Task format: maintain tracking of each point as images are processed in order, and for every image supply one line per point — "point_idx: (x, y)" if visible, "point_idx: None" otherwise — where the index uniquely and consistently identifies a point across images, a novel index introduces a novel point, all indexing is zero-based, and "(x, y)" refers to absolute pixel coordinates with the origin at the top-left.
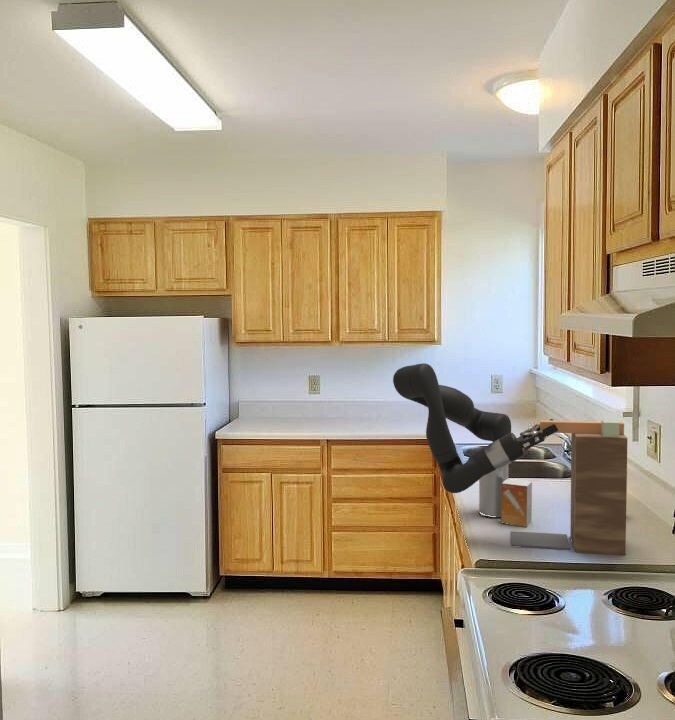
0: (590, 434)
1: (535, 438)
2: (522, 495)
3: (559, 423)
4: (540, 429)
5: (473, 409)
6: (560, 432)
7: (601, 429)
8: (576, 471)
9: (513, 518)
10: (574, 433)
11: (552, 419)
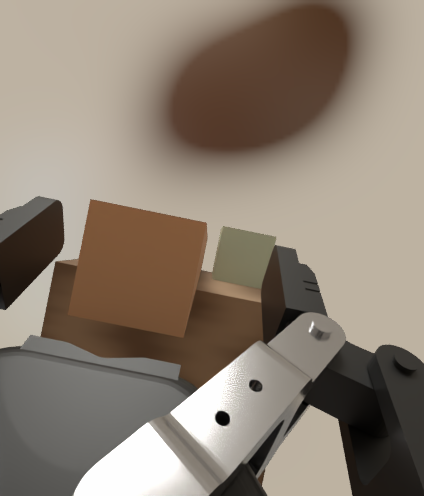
0: (217, 284)
1: (277, 441)
2: None
3: (205, 238)
4: (130, 303)
5: None
6: (193, 298)
7: (218, 260)
8: (261, 483)
9: None
10: (202, 290)
11: (60, 202)
